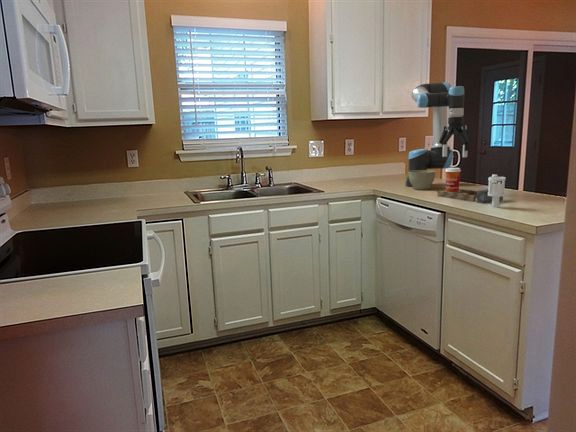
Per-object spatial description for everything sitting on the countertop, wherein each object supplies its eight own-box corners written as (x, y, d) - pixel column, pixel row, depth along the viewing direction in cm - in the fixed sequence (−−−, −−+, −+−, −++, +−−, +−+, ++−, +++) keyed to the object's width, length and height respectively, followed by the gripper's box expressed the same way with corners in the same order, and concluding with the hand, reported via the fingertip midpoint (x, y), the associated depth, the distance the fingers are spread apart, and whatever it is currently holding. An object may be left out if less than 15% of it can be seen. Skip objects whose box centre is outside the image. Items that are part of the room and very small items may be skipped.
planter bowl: (436, 190, 255) (437, 172, 253) (408, 191, 258) (409, 173, 256) (433, 186, 270) (433, 169, 268) (407, 187, 274) (407, 170, 272)
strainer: (498, 205, 204) (500, 173, 201) (506, 207, 197) (508, 175, 194) (484, 206, 204) (485, 174, 201) (491, 208, 197) (493, 176, 194)
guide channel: (437, 196, 236) (437, 185, 235) (456, 193, 242) (456, 182, 241) (483, 203, 210) (483, 191, 208) (503, 200, 216) (503, 188, 214)
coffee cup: (441, 195, 236) (442, 168, 233) (449, 194, 241) (450, 167, 238) (455, 197, 230) (456, 169, 227) (463, 195, 235) (464, 168, 232)
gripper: (432, 118, 237) (432, 156, 241) (470, 115, 215) (468, 157, 219) (442, 117, 240) (441, 155, 244) (480, 115, 218) (478, 157, 222)
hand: (454, 156), depth 232 cm, fingers open, 13 cm apart
